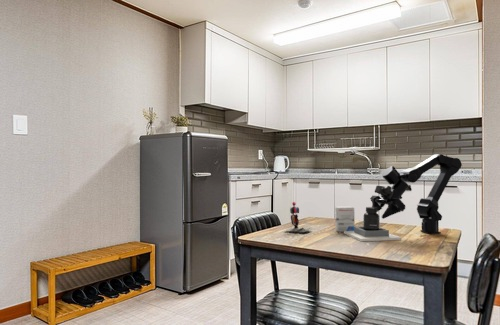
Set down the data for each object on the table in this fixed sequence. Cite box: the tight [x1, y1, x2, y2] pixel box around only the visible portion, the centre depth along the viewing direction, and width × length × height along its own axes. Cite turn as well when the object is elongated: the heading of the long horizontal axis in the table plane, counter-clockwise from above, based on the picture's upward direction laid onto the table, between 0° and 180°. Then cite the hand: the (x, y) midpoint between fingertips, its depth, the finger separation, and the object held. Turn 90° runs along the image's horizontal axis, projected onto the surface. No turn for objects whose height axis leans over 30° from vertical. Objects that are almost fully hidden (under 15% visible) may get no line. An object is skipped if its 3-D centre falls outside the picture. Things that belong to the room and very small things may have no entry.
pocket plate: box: [343, 226, 402, 242], centre depth 159 cm, size 18×18×4 cm
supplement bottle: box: [362, 206, 380, 231], centre depth 159 cm, size 7×7×12 cm
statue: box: [283, 201, 312, 234], centre depth 172 cm, size 11×9×15 cm
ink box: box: [334, 206, 356, 233], centre depth 173 cm, size 9×5×12 cm, turn 84°
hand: (376, 216), depth 159 cm, fingers open, 9 cm apart
